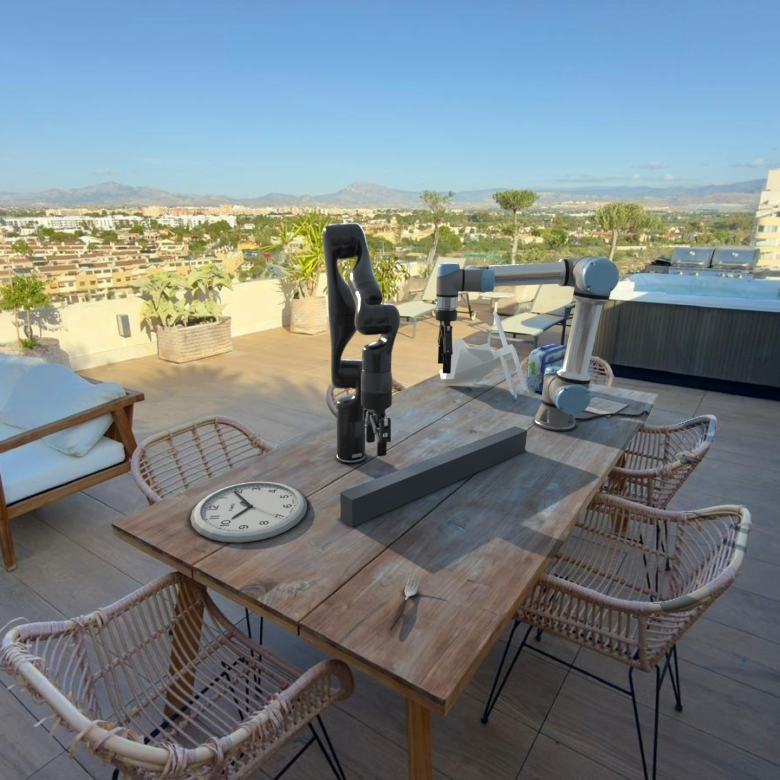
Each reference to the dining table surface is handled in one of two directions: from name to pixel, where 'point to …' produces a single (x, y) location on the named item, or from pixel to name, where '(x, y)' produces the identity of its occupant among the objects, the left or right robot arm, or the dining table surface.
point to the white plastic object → (483, 362)
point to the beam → (428, 475)
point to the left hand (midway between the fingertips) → (375, 448)
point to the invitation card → (604, 406)
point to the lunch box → (543, 364)
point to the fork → (409, 592)
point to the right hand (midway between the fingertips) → (443, 368)
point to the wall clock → (248, 512)
